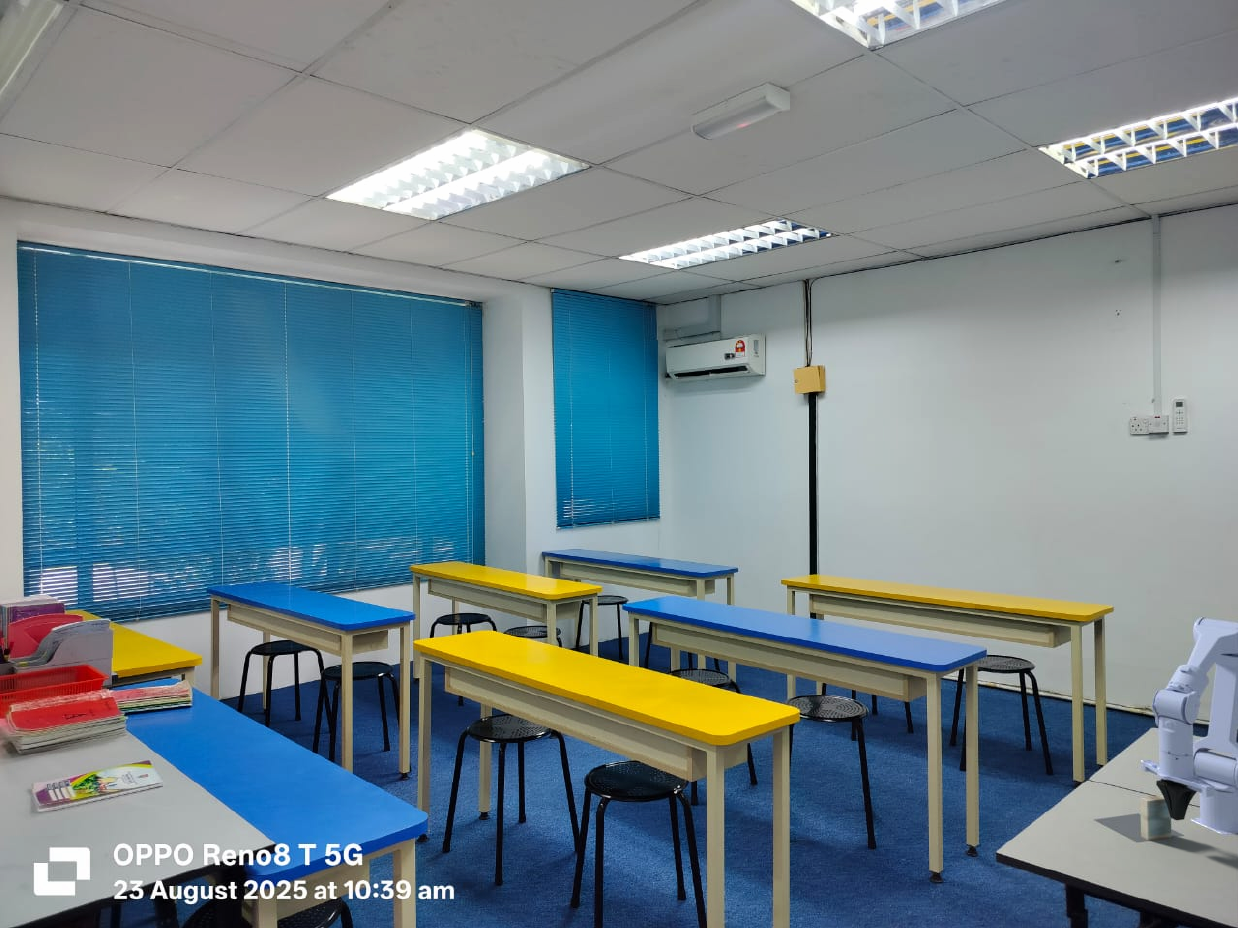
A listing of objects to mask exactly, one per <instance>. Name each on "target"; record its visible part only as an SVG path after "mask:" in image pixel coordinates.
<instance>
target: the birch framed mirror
mask: <svg viewBox="0 0 1238 928" xmlns="http://www.w3.org/2000/svg"><path fill="white" fill-rule="evenodd" d="M1139 798H1140V803H1139V804H1140V814H1141V837H1143V838H1145V839H1147V840H1150V841H1153V840H1152V839H1157V840H1159V839H1158V838H1164V839H1166V838H1165V837H1171V838H1173V837H1172V834H1171V829H1172V818H1171V817H1170V814H1169V811H1168V807H1167V804H1166V801H1165V799H1164V797H1163V795H1155V796H1153V795H1152V796H1147V797H1146V796H1145V797H1139Z"/></svg>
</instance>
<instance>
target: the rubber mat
mask: <svg viewBox="0 0 1238 928" xmlns="http://www.w3.org/2000/svg"><path fill="white" fill-rule="evenodd" d="M1093 821H1094V822H1097V823H1098V824H1101V825H1103V826H1105V827H1106V828H1108V829H1110V830H1112V831H1114V832H1116V833H1118V834H1120V835H1122V836H1124V837H1126V838H1127V839H1129V840H1131V841H1133V842H1135V843H1142V842H1149V841H1155V840H1162V839H1170V838H1176V837H1183V836H1185V835H1184V834H1183V833H1181V832H1178V831H1176V830H1174V829H1172V828H1171V834H1172V837H1165V838H1158V839H1152V840H1147V839H1145V838H1143V837H1141V813H1132V814H1124V815H1118V816H1110V817H1104V818H1102V817H1101V818H1096V819H1095V818H1094V819H1093Z"/></svg>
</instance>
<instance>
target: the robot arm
mask: <svg viewBox="0 0 1238 928" xmlns="http://www.w3.org/2000/svg"><path fill="white" fill-rule="evenodd" d="M1192 629H1193V630H1192V636H1193V640H1194V644H1195V645H1194V647H1193V649H1192V652H1191V653H1190V657H1189V659H1188V661H1187V663H1186V664H1181V665H1179V666H1178V667H1177V669H1176V670H1175V671H1174V673H1173V675H1172V676H1171V679H1170V680H1169V681H1168V684H1167V685H1166V687H1165V688H1163V689H1161V690H1157V691H1155V693H1154V695H1153V698H1152V703H1151V709H1152V712H1153V713H1152V714H1153V715H1154V719H1155V720H1154V721H1155V722H1154V723H1155V724H1156V726H1157V727H1158V759H1159V761H1158V762H1155V761H1152V760H1150V759H1147V760H1141V770H1142V771H1144V772H1146V773H1147V772H1149V773H1152V774H1155V775H1156V776H1157V778H1159V779H1160V780H1156V787H1157V788H1158V789H1159V791H1160V793H1161V794H1162V795H1163V797H1164V799H1165V801H1166V804H1167V807H1168V811H1169V814H1170V817H1171V820H1172V819H1173V820H1174V821H1182V820H1185V819H1186V814H1187V810H1188V808H1189V805H1190V804H1191V803H1190V802H1191V801H1192V799H1193V798H1194V796H1195V795H1196V793H1199V816H1198V817H1193V818H1189V820H1190V821H1192V822H1194V823H1196V824H1199V825H1201V826H1203V827H1206V828H1207V829H1209V830H1212V831H1214V832H1216V833H1219V834H1221V835H1223V836H1224V835H1225V836H1228V835H1234V834H1238V742H1237V737H1238V622H1235V621H1229V620H1222V619H1221V620H1220V619H1214V618H1206V617H1203V616H1201V617H1199V618H1197V620H1195V622H1194V624H1193V628H1192ZM1214 665H1215V672H1214V673H1215V674H1214V675H1215V676H1214V682H1213V690H1212V697H1211V705H1210V707H1211V708H1210V715H1209V724H1208V731H1207V735H1206V736H1204V737H1202V738H1200V739H1198V740H1195V741H1194V723H1195V722H1196V721H1197V719H1198V716H1199V713H1200V707H1201V700H1200V699H1201V697H1202V695H1204V694H1203V693H1204V692H1205V690H1206V688H1207V686H1208V685H1209V683H1210V679H1209V676H1208V675H1207V674H1208V673H1209V671H1210V670H1211V668H1212V667H1213V666H1214ZM1213 751H1217V752H1221V753H1224V754H1220V753H1217V752H1213ZM1225 754H1228V755H1231V756H1228V755H1225Z"/></svg>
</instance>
